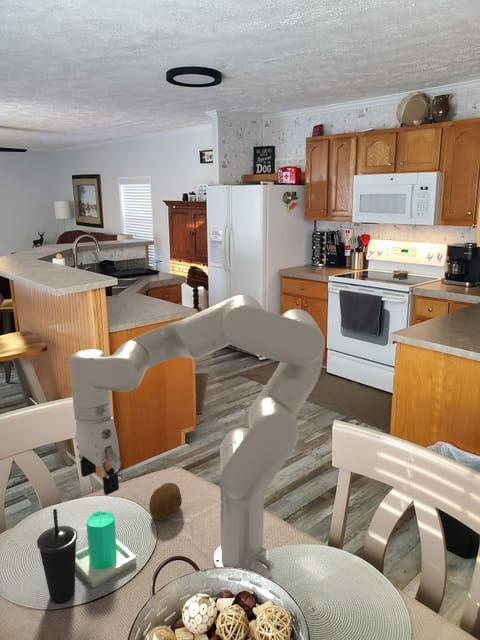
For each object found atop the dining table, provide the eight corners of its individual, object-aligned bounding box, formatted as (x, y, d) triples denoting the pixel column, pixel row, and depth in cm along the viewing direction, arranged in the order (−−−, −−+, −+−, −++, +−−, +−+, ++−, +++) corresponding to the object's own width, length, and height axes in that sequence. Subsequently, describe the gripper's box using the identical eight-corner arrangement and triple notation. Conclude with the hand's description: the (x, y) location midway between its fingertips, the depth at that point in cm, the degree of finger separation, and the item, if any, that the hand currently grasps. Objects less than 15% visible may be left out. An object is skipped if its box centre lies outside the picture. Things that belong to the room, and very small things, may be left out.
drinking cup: (60, 577, 110) (52, 495, 105) (89, 587, 108) (83, 503, 103) (34, 602, 103) (25, 516, 98) (65, 614, 101) (57, 526, 96)
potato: (185, 500, 138) (184, 474, 136) (178, 529, 126) (177, 502, 124) (155, 499, 138) (154, 474, 136) (145, 528, 126) (144, 501, 124)
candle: (110, 570, 111) (107, 522, 108) (84, 567, 112) (80, 519, 109) (121, 552, 117) (118, 506, 114) (96, 549, 118) (93, 503, 115)
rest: (136, 563, 114) (135, 556, 114) (93, 588, 107) (92, 580, 107) (111, 540, 122) (111, 534, 121) (70, 562, 115) (69, 555, 114)
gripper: (131, 416, 102) (137, 492, 106) (89, 393, 114) (95, 461, 118) (97, 428, 97) (104, 507, 101) (57, 402, 109) (65, 474, 113)
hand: (99, 482), depth 110 cm, fingers open, 9 cm apart
